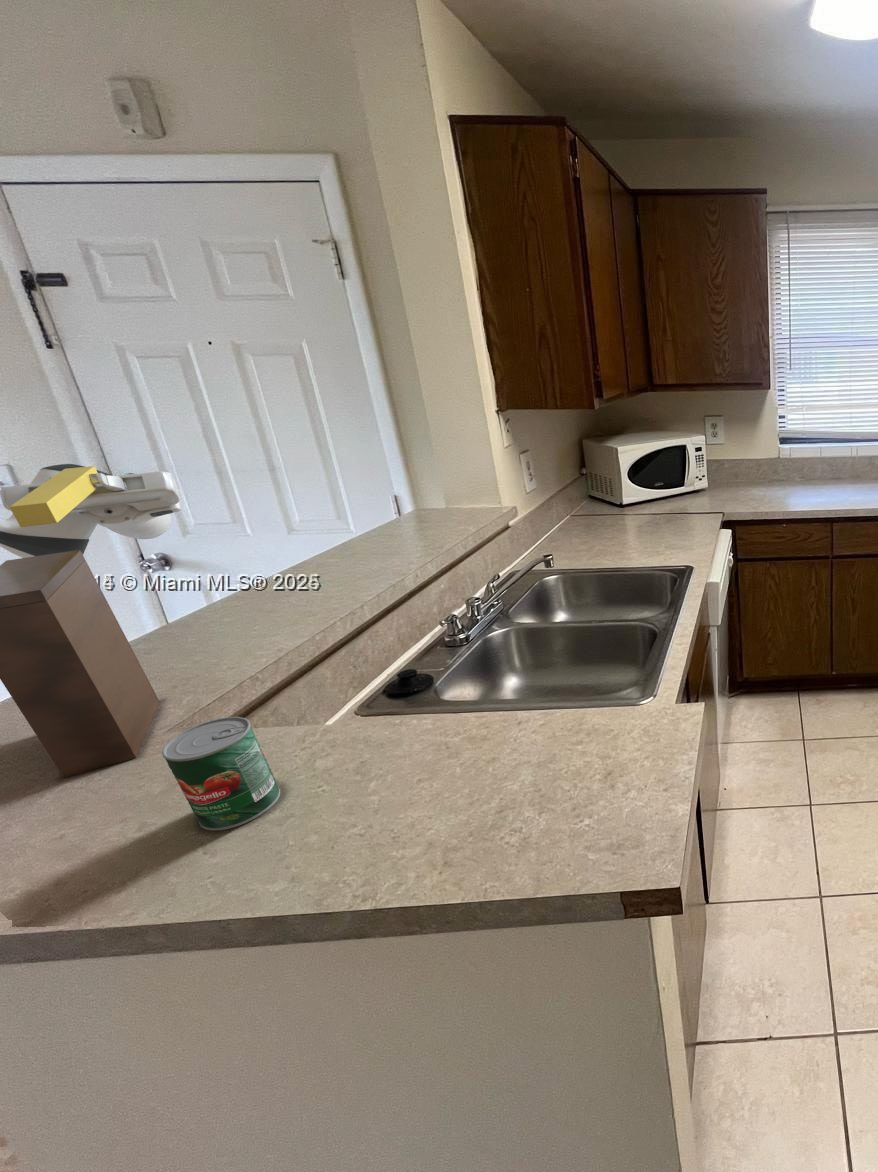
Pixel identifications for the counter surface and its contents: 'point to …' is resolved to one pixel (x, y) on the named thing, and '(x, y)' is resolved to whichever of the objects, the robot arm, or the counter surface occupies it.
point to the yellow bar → (54, 497)
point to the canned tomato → (222, 772)
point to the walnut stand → (71, 663)
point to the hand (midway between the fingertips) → (74, 480)
